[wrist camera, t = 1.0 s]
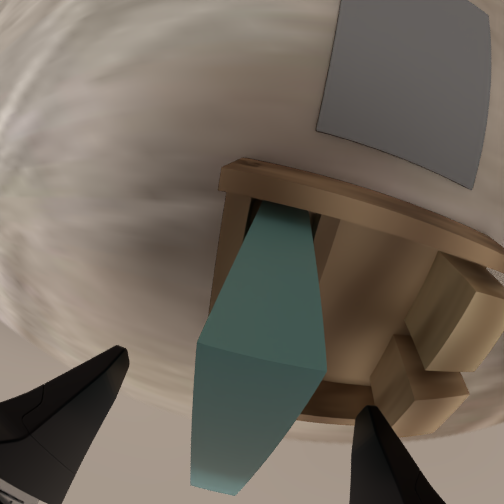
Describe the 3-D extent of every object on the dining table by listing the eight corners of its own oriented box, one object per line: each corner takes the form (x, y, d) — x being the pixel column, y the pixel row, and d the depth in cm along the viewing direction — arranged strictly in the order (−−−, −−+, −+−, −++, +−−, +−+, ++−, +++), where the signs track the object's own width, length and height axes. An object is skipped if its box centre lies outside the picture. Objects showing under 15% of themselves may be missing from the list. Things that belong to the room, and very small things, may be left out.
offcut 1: (483, 266, 11) (519, 304, 8) (450, 328, 13) (474, 371, 10) (438, 250, 11) (476, 291, 8) (403, 320, 13) (425, 370, 10)
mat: (485, 16, 6) (488, 15, 5) (468, 188, 11) (471, 190, 10) (347, -50, 6) (348, -53, 6) (315, 130, 11) (316, 130, 11)
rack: (488, 236, 11) (526, 266, 8) (400, 385, 17) (410, 425, 13) (243, 157, 12) (221, 167, 9) (211, 353, 18) (194, 397, 14)
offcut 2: (442, 337, 14) (469, 394, 9) (416, 377, 15) (432, 432, 11) (393, 334, 14) (414, 400, 9) (369, 377, 16) (379, 439, 11)
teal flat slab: (307, 208, 12) (327, 371, 4) (261, 362, 16) (235, 495, 8) (264, 198, 12) (197, 342, 4) (230, 354, 16) (190, 485, 8)
